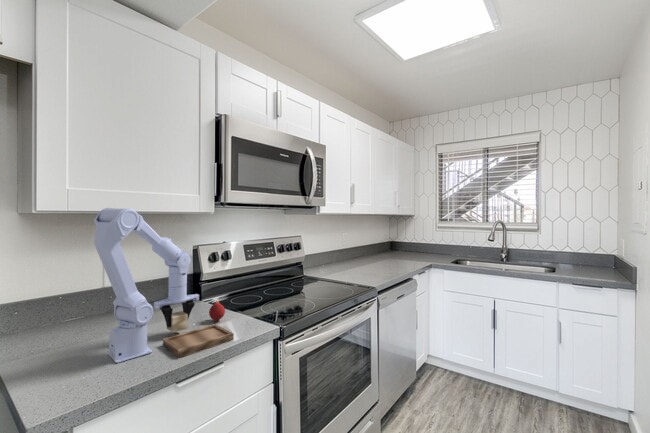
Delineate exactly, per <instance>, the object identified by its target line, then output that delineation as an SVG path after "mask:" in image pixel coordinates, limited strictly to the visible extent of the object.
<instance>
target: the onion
mask: <svg viewBox="0 0 650 433" xmlns="http://www.w3.org/2000/svg"><path fill="white" fill-rule="evenodd" d="M225 313H226V309H225V307H224V305H223V304H221V303H220V301H219V300H216V302H215V303H214V304H212V305H211V307H210V308H209V310H208V315H209V317H210V319H211V320H213V321H215V322H218V321H220V320H221V319H222V318H223V317H224V315H225Z"/></svg>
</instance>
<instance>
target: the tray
mask: <svg viewBox="0 0 650 433" xmlns="http://www.w3.org/2000/svg"><path fill="white" fill-rule="evenodd" d="M231 340H232V341H234V332H231V331H229V330H228V329H225V328H223V327H222V326H220V325H218V324H212V325H208V326H205V327H200V328H196V329H194V330H190V331H187V332H186V331H185V332H183V333H179V334H175V335H172V336H169V337H165V338H163V339H162V346H163V347H164V348H165V349H166V350H168V351H169V352H170V353H172V354H173V355H174V356H176V357H177V358H178V359H180V358H184V357H187V356H191V355H193V354H195V353H198V352H199V353H200V352H202V351H205V350H208V349H210V348H213V347H216V346H219V345H223V344H225V343H226V344H227V343H228V342H232V341H231Z"/></svg>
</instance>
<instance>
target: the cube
mask: <svg viewBox="0 0 650 433" xmlns="http://www.w3.org/2000/svg"><path fill="white" fill-rule="evenodd" d="M188 322H189V318H188V314H186V313H184V312H183V310H182V311H181V310H180V311H175V312H172V316H171V327H167V326H166V330H168V331H170V332H171V333H176V332H179V331H184V330H188V327H189V326H188V324H189V323H188Z"/></svg>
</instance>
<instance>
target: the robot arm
mask: <svg viewBox="0 0 650 433" xmlns="http://www.w3.org/2000/svg"><path fill="white" fill-rule="evenodd" d="M93 221H94V224H95V232H94V239H93V240H94V241H93V242H94V246H95V249H96V251H97V254H98V256H99V258H100V261H101V263H102V266H103V268H104V271H105V273H106V276H107V277H108V280H109V283H110V285H111V287H112V291H113V292H114V295H115V299H114V300H113V301H112V304H113V307H114V309H113V316H114V318H115V320H118V326H116V327H114V328H111V329H110V330H109V334H108V336H109V337H108V338H109V340H108V341H109V342H108V344H109V345H108V346H109V348H108V349H109V351H108V356H109V357H110V358H111V359H112V360H113V361H114V363H116V364H119V363H122V362H125V361H129V360H132V359H134V358H135V359H136V358H139V357H142V356H144V355H145V356H146V355H149V354H151V353H153V350H152V349H151V348H150V347H149V346H148V324H149V322H150V321H151V319H152V317H153V315H154V309H156V310H157V309H160V311H161V313H162V314H163V316H164V320H165V324H166V328H167V327H171V316H172V313H173V308H172V307H171V306H172V305H173V306H174V305H180V304H181V305H182V312H184V313H186V314H188V319H189V318H190V315H191V312H192V310H193V308H194V307H195V304H196V303H195V301H200V294H198V293H195V294H187V290H188V285H187V284H188V281H187V280H188V271H189V266H190V265H191V263H192V258H191V257H190V254H189V253H188V252H186V251H182V250H181V247H179V246H177V245H176V244H174V243H173V242H172V241H173V239H171V238H170V237H166V236H164V237H163V236H162V237H161V236H160V235H159V234H158V232H156V231H155V230H154V229H153V228H152V227H151V226H150V225H149V224H148V223H147V222H146V221H145V220H144V218H143V216H142V215H141V214H139V213H138V212H137V211H136V210H135V209H133V208H131V207H126V208H115V207H114V208H113V207H105V208H102V209H101V210H100V211H99V212H98V214H97V215H96V217H95V218H94V219H93ZM131 232H133V233H135V234H136V235H138V236H140V238H142V239H143V240H144V241H145V242H147V243H149V244H150V245H151V248H152V249H151V250H152V251H153V252H154V253H155V254H157V256H158V257H160V258H161V259H163V260H164V264H165V266H167V267H168V297H166V298H164V299H161V300H160V299H159V300H157V301H154V302H153V306H152V304H150V303H149V302H148V301H147V298H146V297H145V296H144V295H143V294H142V293H140V291H139V290H138V288H137V285H136V283H135V280H134V277H133V274H132V273H131V269H130V268H129V264H128V261H127V260H126V257H125V254H124V253H125V252H124V251H123V248H122V246H121V243H122V241H123V240H124V239H125V238H127V236H128V235H129V234H131Z"/></svg>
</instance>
